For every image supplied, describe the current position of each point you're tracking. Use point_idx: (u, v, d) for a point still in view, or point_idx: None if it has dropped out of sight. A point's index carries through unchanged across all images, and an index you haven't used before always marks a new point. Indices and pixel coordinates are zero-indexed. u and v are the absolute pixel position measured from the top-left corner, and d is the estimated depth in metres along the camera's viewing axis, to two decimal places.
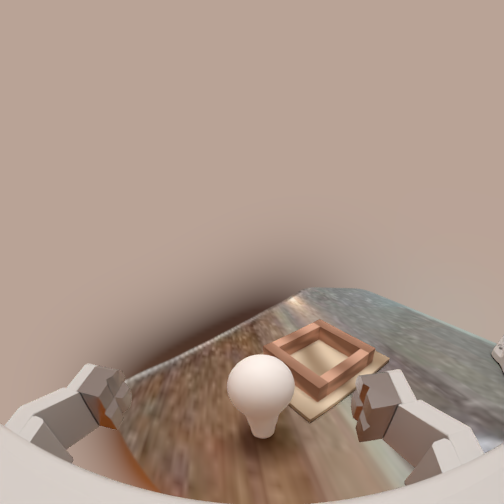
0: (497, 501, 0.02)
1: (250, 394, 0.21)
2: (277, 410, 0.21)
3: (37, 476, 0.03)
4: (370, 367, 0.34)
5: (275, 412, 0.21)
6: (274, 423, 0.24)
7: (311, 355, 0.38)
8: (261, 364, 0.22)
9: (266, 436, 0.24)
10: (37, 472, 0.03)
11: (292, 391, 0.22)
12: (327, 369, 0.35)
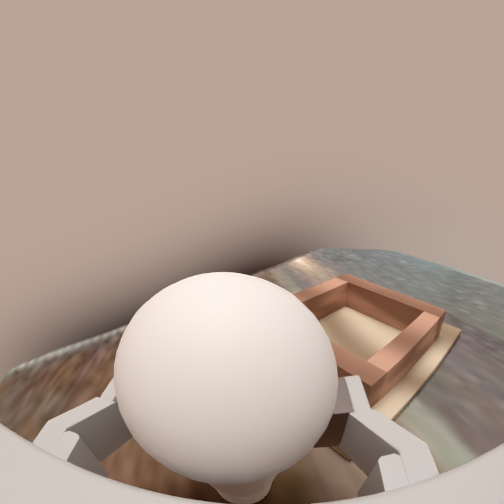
0: (497, 501, 0.02)
1: (162, 409, 0.04)
2: (279, 469, 0.05)
3: (37, 476, 0.03)
4: (439, 345, 0.17)
5: (272, 474, 0.05)
6: (270, 480, 0.08)
7: (337, 330, 0.22)
8: (217, 288, 0.06)
9: (250, 502, 0.08)
10: (37, 472, 0.03)
11: (334, 398, 0.06)
12: (369, 352, 0.18)
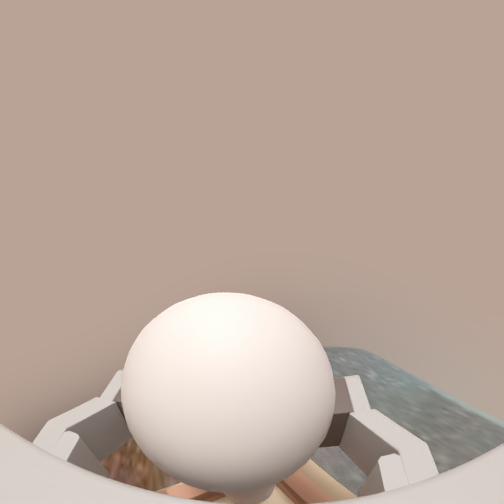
0: (497, 501, 0.02)
1: (171, 433, 0.05)
2: (283, 477, 0.05)
3: (37, 476, 0.03)
4: None
5: (276, 482, 0.05)
6: None
7: None
8: (217, 314, 0.06)
9: (256, 502, 0.08)
10: (37, 472, 0.03)
11: (332, 410, 0.06)
12: None
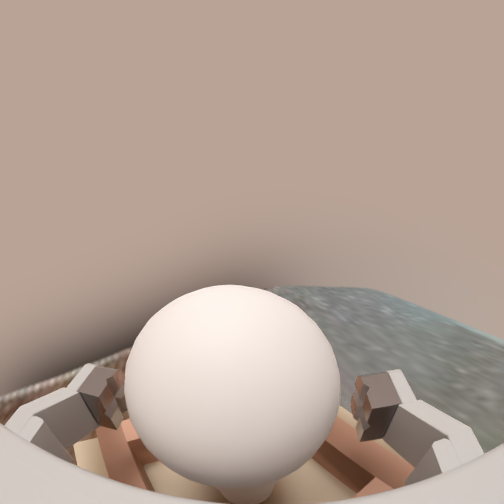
0: (497, 501, 0.02)
1: (178, 422, 0.05)
2: (288, 472, 0.05)
3: (37, 476, 0.03)
4: None
5: (281, 476, 0.05)
6: (274, 481, 0.08)
7: None
8: (227, 303, 0.06)
9: (254, 503, 0.08)
10: (37, 472, 0.03)
11: (338, 403, 0.06)
12: None
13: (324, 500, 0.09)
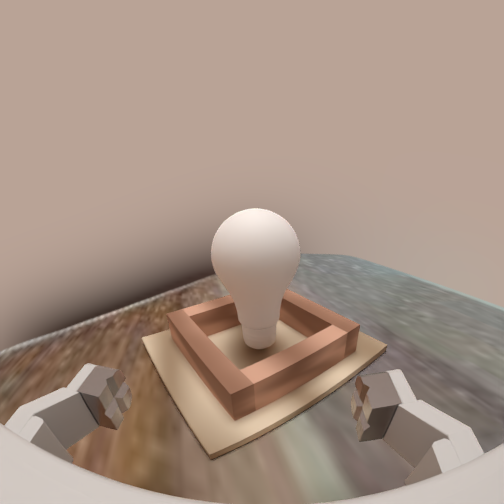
0: (497, 501, 0.02)
1: (241, 241, 0.17)
2: (280, 273, 0.17)
3: (37, 476, 0.03)
4: (351, 361, 0.19)
5: (277, 277, 0.17)
6: (275, 318, 0.20)
7: None
8: (256, 210, 0.18)
9: (265, 344, 0.20)
10: (37, 472, 0.03)
11: (298, 251, 0.18)
12: None
13: None
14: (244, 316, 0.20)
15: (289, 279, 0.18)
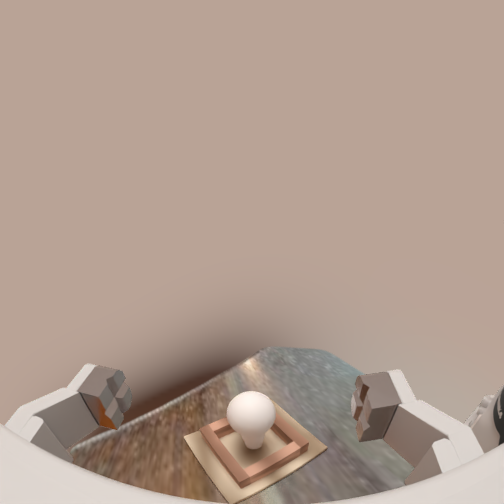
0: (497, 501, 0.02)
1: (243, 421, 0.28)
2: (263, 431, 0.28)
3: (37, 476, 0.03)
4: (303, 457, 0.30)
5: (261, 432, 0.29)
6: (262, 439, 0.31)
7: None
8: (251, 400, 0.30)
9: (256, 448, 0.32)
10: (37, 472, 0.03)
11: (274, 418, 0.30)
12: (259, 455, 0.31)
13: (279, 449, 0.32)
14: (245, 439, 0.31)
15: (268, 429, 0.30)
